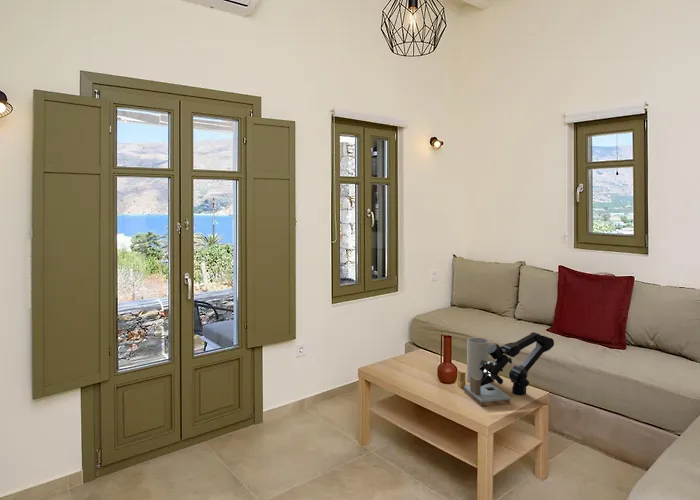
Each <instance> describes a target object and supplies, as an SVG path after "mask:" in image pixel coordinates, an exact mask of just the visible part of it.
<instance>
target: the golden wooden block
mask: <svg viewBox="0 0 700 500" xmlns="http://www.w3.org/2000/svg"><path fill="white" fill-rule="evenodd" d="M466 378H467V371H465V370H457V387H458V388H460V389H462V388H463V389H464V386H466Z"/></svg>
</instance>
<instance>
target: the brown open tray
mask: <svg viewBox="0 0 700 500" xmlns="http://www.w3.org/2000/svg"><path fill="white" fill-rule="evenodd" d="M463 390H464V394H466V395H467V396H468V397H470V399H471V400H473V401H474V402H475V403H476V404H477V405H478V406H479V407H481V408H483V407H493V406H504V405H505V406H506V405H510V403H511V401H510V400H511V398H510V399H508V400H498V401H488V402H481V401H479V400H478V399H477V398H476V397H475V396H473V395H472V394H471V393H470V392H469V391H467V390H466V389H465V388H463ZM487 390H488V391H491V390H493V389H487Z"/></svg>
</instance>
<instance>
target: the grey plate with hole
mask: <svg viewBox="0 0 700 500" xmlns="http://www.w3.org/2000/svg"><path fill="white" fill-rule="evenodd" d="M464 388H465V389H466V390H467V391H469V392H470V393H471V394H472V395H473V396H475V397H476V398H477V399H478V400H479V401H481V402H488V401H498V400H508V399H510V400H511V397H510V396H509V395H508V394H506V392H504V391H502V390H501V389H499V388H498V387H497V386H495V385H494V384H493V383H489V384H486V385H483V386H481V380H480V379H479V378H478V377H476V376H470V383H469V385H465V386H464ZM464 388H463V389H464ZM487 389H493V390H491V391H488V390H487Z"/></svg>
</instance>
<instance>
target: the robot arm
mask: <svg viewBox="0 0 700 500" xmlns="http://www.w3.org/2000/svg"><path fill="white" fill-rule="evenodd" d="M534 343H535V347H534V348H533V349H532V351H530V352H529V354H528V355H527V356H526V358H525V359H524V360H523V361H522V362H521V364H520V365H518V366H517V365H514V366H513V367H512V368H511V369H510V370H509V373H508V375H509V376H508V377H509V379H510V381H511V383H512V387H511V388H512V389H511V391H512V392H511V393H512V394H513V395H516V396H524V395H526V394H527V387H528V386H529V385H530V381H529V380H528V372H529V370H530V369H531V368H532V367H533V366H534V365H535V363H536V362H537V361H538V360H539V359H540V357H541V356H542V355H543V353H546V352H549V351H550V350H552V348H553V347H554V345H555V339H553V338H552V337H549V336H546V335H542V334H540V333H538V332H530V334H528V335H526V336H523V337H522V338H521V339H519V340H517V341H514V342H508V343H505V344H503V345H502V346H500V345H499V344H498V343H494V344H492V345H489V347H488V349H487V352H488V353H489V356H491V358H492V359H494V361H493V360H491V361H490V360H489V362H488V361H485V360H483V359H482V360H481V362H480V364H479V366H478V368H479V369H480V370H481V371H482V378H481V386H483V385H486V384H490V383H491V384H493V383H495V381H496V382H497V383H498V385H500V386H501V385H502V384H503V383H504V379H503V378H501V377H500V375H499V373H500V372H504V368H505V367H506V365H508V363H509V364H513V361H512V360H513V359H512V358H514V357H516V356H517V355H519V354H520V352H521V351H522V350H523V349H526V348H527V347H529V346H531V345H533V344H534Z"/></svg>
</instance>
